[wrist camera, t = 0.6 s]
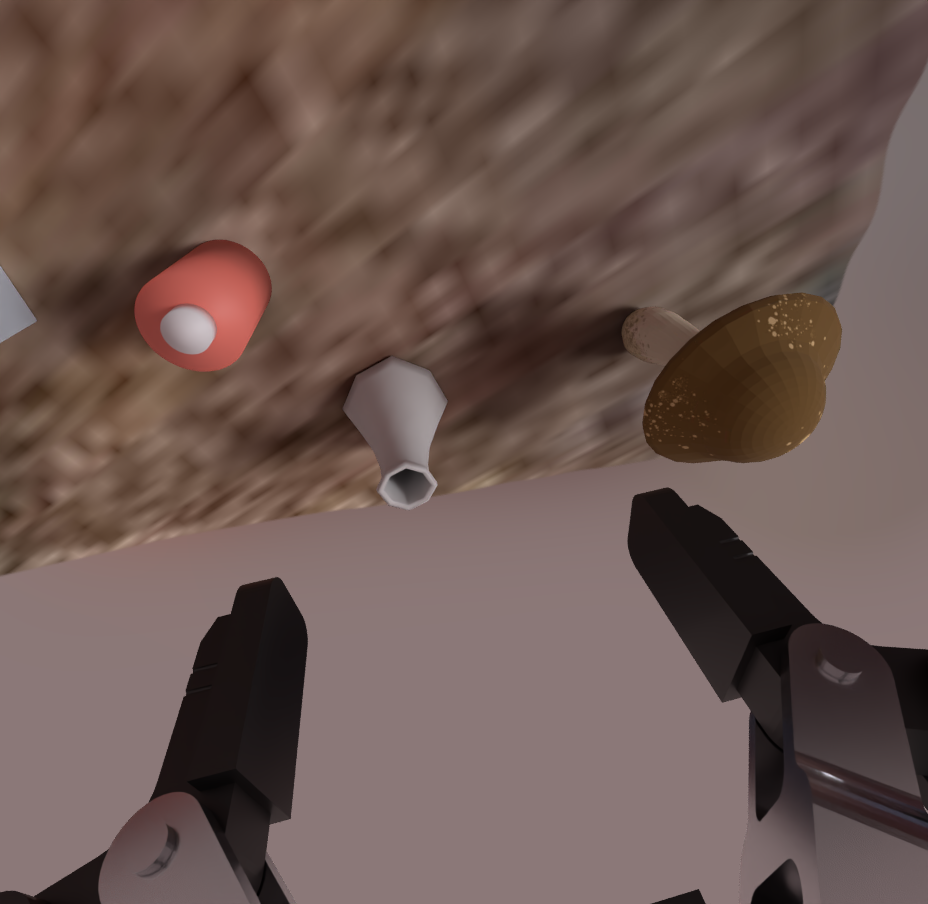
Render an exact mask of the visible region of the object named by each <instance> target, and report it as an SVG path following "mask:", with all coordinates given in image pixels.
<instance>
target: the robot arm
mask: <svg viewBox="0 0 928 904" xmlns="http://www.w3.org/2000/svg"><path fill="white" fill-rule="evenodd" d="M628 549H629V553H630V556H631V559H632V561H633V563H634V565H635V567H636V569H637V570H638V572H639V573H640V575H641V576H642V578H643V579H644V581H645V583H646V584H647V586H648V587H649V589H650V590H651V592H652V594H653V595H654V597H655V598H656V600H657V601H658V603H659V605H660V606H661V608H662V609H663V611H664V612H665V614H666V615H667V617H668V619H669V620H670V622H671V623H672V625H673V626H674V628H675V630H676V631H677V632H678V634H679V636H680V637H681V639H682V641H683V642H684V644H685V645H686V647H687V648H688V650H689V651H690V653H691V655H692V656H693V658H694V659H695V661H696V662H697V664H698V665H699V667H700V669H701V670H702V672H703V673H704V675H705V676H706V678H707V680H708V681H709V683H710V684H711V686H712V687H713V689H714V691H715V692H716V694H717V695H718V697H719V698H720V700H721V701H722V702H726V701H729V700H734V699H737V698H740V697H742V698H743V700H744V701H745V703H746V704H747V706H748V707H749V709H750V710H751V712H750V716H749V773H748V775H749V777H748V824H747V832H746V837H745V840H744V844H743V849H742V856H741V865H740V889H739V904H928V814H927V812H926V810H925V808H926V809H927V810H928V650H926V649H911V648H896V647H882V646H874V645H870V644H869V643H867V642H866V641H865V640H863V639H862V638H860V637H859V636H857V635H855V634H853V633H851V632H849V631H847V630H844V629H842V628H839V627H836V626H833V625H828V624H822V623H821V622H820V621H819V620H817V619H816V618H815V617H814V616H813V615H812V614H811V613H810V612H809V611H808V610H807V609H806V608H805V607H804V605H803V604H802V603H801V602H800V601H799V600H798V599H797V598H796V597H795V596H794V595H793V594H792V593H791V592H790V591H789V590H788V589H787V587H786V586H785V585H784V584H783V583H782V582H781V581H780V580H779V579H778V578H777V577H776V576H775V575H774V574H773V573H772V572H771V571H770V569H769V568H768V567H767V566H766V565H765V564H764V563H763V562H762V561H761V560H760V559H759V558H758V557H757V556H754V555H753V552H752V550H751V549H750V548H749V547H748V546H747V545H746V544H745V543H744V542H743V541H742V540H741V541H740V540H739V538H738V535H736V533H734V531H733V530H732V529H731V528H730V527H729V526H728V525H727V524H726V523H725V522H724V521H723V520H722V519H721V518H720V517H718V516H716V515H715V514H713V513H711V512H709V511H708V510H706V509H704V508H703V507H701V506H699V505H694V506H690V507H688V506H687V505H686V503H685V502H684V501H683V500H682V499H681V498H680V497H679V496H678V494H677V493H676V492H675V491H674V490H672V489H670V488H663V489H659V490H654V491H650V492H646V493H641V494H637V495H635V496H634V497H633V501H632V508H631V516H630V525H629V533H628ZM307 647H308V637H307V629H306V624H305V621H304V618H303V616H302V614H301V613H300V611H299V609H298V607H297V606H296V604H295V602H294V600H293V599H292V597H291V595H290V593H289V592H288V590H287V588H286V586H285V585H284V583H283V581H282V580H281V579H280V578H278V577H275V578H271V579H267V580H262V581H258V582H254V583H250V584H245V585H242V586H240V587H239V589H238V590H237V593H236V596H235V600H234V604H233V608H232V611H231V614H229V615H225V616H221V617H218V618H217V619H216V621H215V622H214V623H213V625H212V626H211V628H210V629H209V631H208V632H207V634H206V635H205V637H204V638H203V640H202V641H201V643H200V646H199V649H198V652H197V655H196V659H195V662H194V665H193V674H191V675H190V678H189V681H188V685H187V688H186V696H185V697H184V698H183V701H182V704H181V707H180V710H179V714H178V717H177V720H176V723H175V727H174V730H173V733H172V736H171V740H170V743H169V746H168V749H167V752H166V756H165V759H164V762H163V766H162V769H161V772H160V775H159V778H158V781H157V784H156V787H155V790H154V792H153V794H152V796H151V798H150V800H149V803H148V804H146V805H145V806H144V807H142V808H141V809H140V810H139V811H137V812H136V813H135V814H134V815H133V816H132V817H131V818H130V819H129V820H128V822H127V823H126V824H125V825H124V826H123V828H122V829H121V830H120V832H119V833H118V835H117V836H116V837H115V839H114V841H113V842H112V844H111V846H110V848H109V849H108V850H107V851H105V852H104V853H103V854H101V855H100V856H98V857H97V858H95V859H94V860H92V861H90V862H89V863H87V864H85V865H84V866H82V867H80V868H79V869H77V870H76V871H74V872H72V873H71V874H69V875H68V876H66V877H64V878H63V879H61V880H60V881H58V882H56V883H55V884H53V885H51V886H50V887H48V888H47V889H45V890H43V891H42V892H40V893H39V894H37V895H35V896H34V897H33V896H30V895H26V894H23V893H20V892H17V891H5V892H0V904H297V903H296V902H295V900H294V898H293V896H292V895H291V893H290V891H289V889H288V888H287V886H286V884H285V882H284V881H283V879H282V877H281V875H280V874H279V872H278V870H277V868H276V867H275V865H274V863H273V861H272V860H271V858H270V856H269V854H268V853H267V852H266V848H267V841H268V832H269V825H270V824H273V823H277V822H281V821H284V820H288V819H291V809H292V799H293V789H294V779H295V768H296V758H297V747H298V737H299V728H300V718H301V708H302V697H303V687H304V677H305V667H306V657H307ZM924 806H925V808H924ZM652 904H705V902H704V899H703V897H702V895H701V893H700V891H699V889H698V890H694V891H691V892H688V893H685V894H682V895H678V896H675V897H672V898H668V899H665V900H662V901H659V902H655V903H652Z"/></svg>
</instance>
